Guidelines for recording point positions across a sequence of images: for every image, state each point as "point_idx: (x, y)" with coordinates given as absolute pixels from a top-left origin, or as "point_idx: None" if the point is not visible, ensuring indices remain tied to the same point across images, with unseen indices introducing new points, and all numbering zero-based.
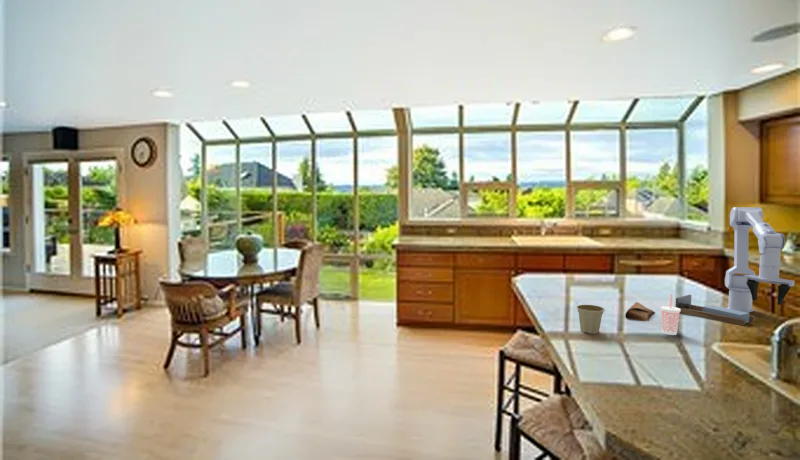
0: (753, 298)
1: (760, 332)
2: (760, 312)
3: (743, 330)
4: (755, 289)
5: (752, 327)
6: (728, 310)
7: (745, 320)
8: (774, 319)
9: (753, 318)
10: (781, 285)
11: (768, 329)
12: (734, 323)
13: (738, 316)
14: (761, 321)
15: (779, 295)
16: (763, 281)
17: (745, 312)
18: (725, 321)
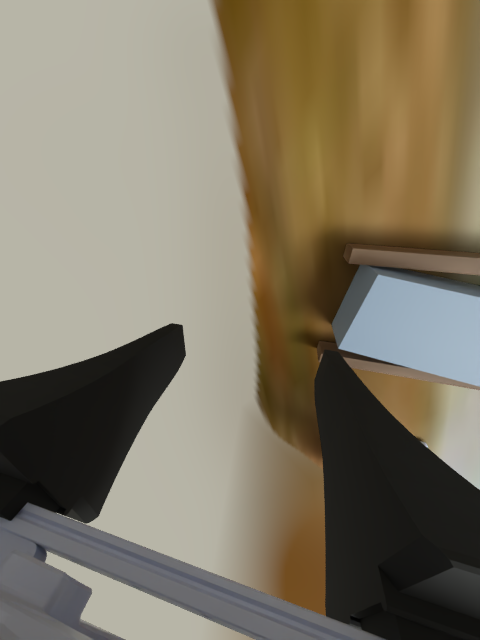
0: (335, 358)
1: (262, 162)
2: (315, 457)
3: (338, 114)
4: (340, 453)
5: (307, 241)
6: (446, 336)
7: (345, 305)
8: (271, 408)
9: (319, 352)
10: (18, 481)
11: (252, 261)
12: (390, 246)
13: (386, 273)
14: (295, 365)
15: (121, 356)
16: (241, 611)
17: (356, 348)
18: (438, 250)
